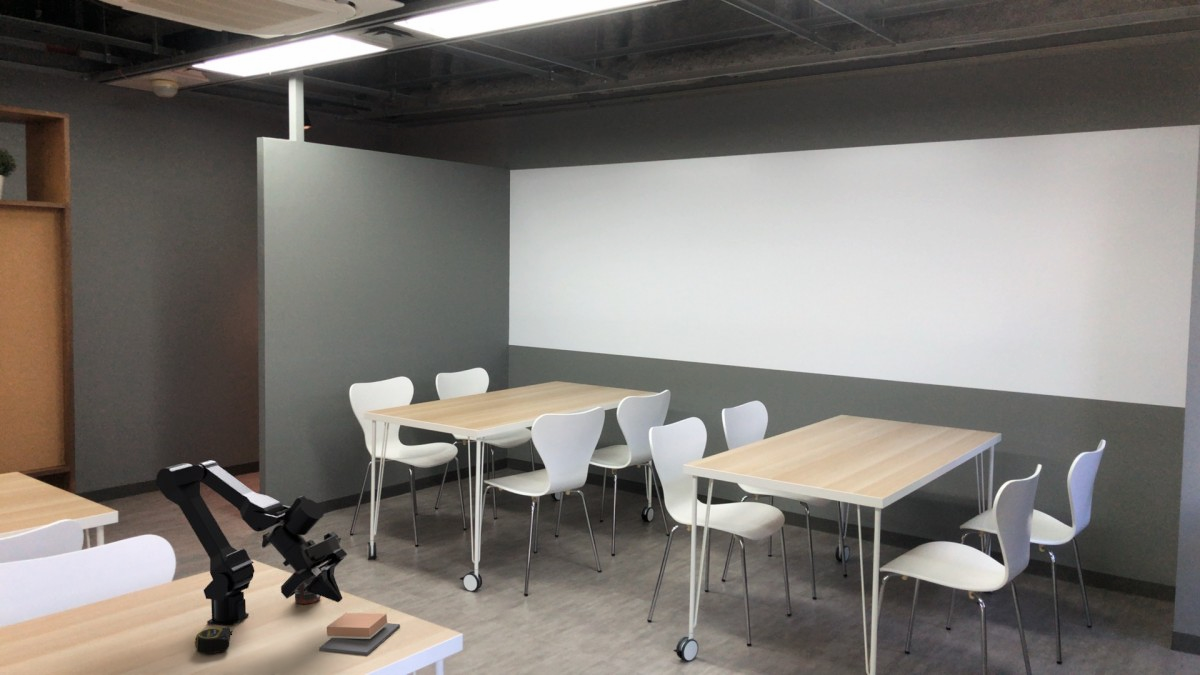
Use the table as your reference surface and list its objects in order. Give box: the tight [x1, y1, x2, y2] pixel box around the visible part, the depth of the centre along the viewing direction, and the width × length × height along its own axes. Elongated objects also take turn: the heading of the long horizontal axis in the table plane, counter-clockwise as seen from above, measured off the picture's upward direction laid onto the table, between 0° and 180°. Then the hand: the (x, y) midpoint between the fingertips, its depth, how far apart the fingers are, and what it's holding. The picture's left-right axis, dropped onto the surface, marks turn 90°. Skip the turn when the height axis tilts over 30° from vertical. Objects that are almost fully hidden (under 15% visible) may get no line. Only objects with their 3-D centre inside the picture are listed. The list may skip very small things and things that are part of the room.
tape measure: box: [194, 626, 233, 655], centre depth 178 cm, size 7×7×4 cm
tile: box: [326, 612, 388, 639], centre depth 185 cm, size 2×8×10 cm
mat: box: [318, 622, 401, 656], centre depth 184 cm, size 11×15×1 cm
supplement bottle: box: [293, 569, 322, 605], centre depth 205 cm, size 6×6×11 cm
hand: (340, 600), depth 186 cm, fingers closed
